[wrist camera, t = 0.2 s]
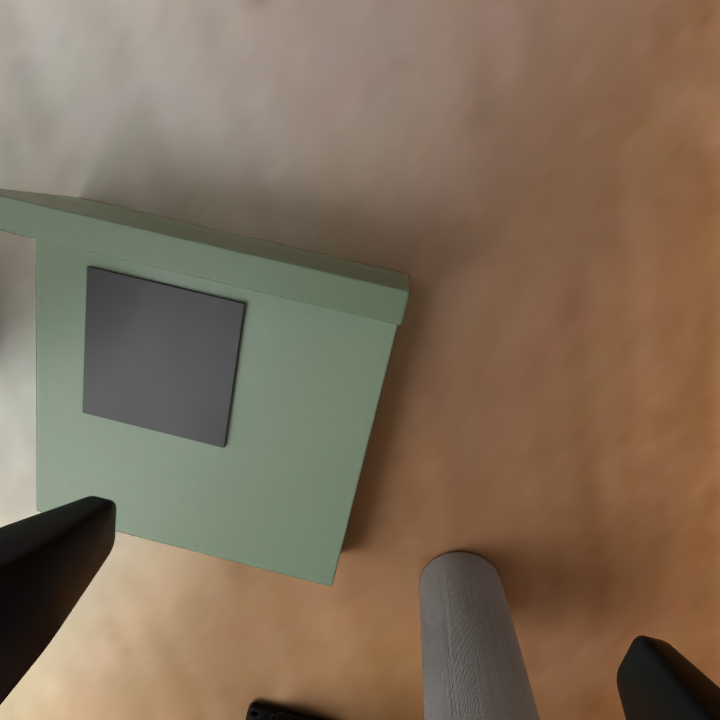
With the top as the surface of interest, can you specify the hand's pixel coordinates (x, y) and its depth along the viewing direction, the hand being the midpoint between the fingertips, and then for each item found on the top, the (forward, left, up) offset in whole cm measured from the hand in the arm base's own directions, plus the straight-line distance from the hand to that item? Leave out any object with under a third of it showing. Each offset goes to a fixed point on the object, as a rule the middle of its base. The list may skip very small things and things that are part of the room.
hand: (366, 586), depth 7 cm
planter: (-12, -7, -15) cm, 20 cm away
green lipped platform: (-4, +8, -14) cm, 17 cm away
